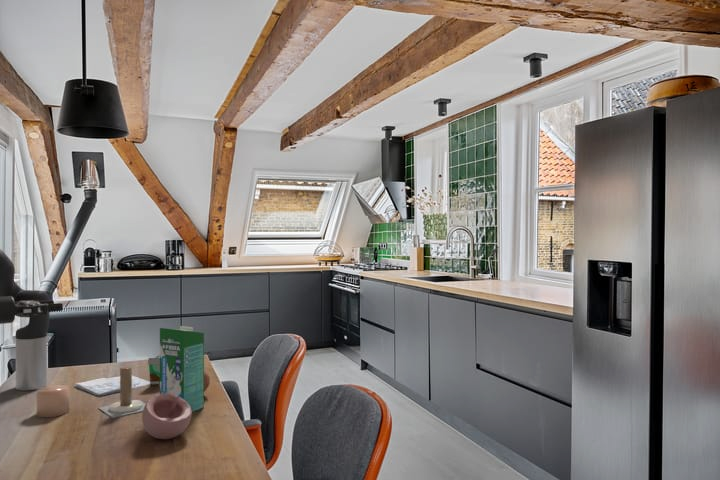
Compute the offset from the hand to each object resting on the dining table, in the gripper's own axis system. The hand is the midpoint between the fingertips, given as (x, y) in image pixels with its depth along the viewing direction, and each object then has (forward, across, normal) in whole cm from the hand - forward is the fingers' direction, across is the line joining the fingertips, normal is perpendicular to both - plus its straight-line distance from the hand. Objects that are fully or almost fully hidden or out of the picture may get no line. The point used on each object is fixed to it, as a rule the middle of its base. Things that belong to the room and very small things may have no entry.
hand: (57, 305), depth 160 cm
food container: (+37, +8, +32) cm, 49 cm away
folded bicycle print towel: (+23, +17, +32) cm, 43 cm away
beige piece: (+15, -12, +31) cm, 37 cm away
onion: (+36, -14, +32) cm, 50 cm away
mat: (+15, -12, +31) cm, 37 cm away
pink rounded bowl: (+14, -43, +32) cm, 55 cm away
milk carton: (+27, -24, +32) cm, 48 cm away
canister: (-1, 0, +31) cm, 31 cm away
